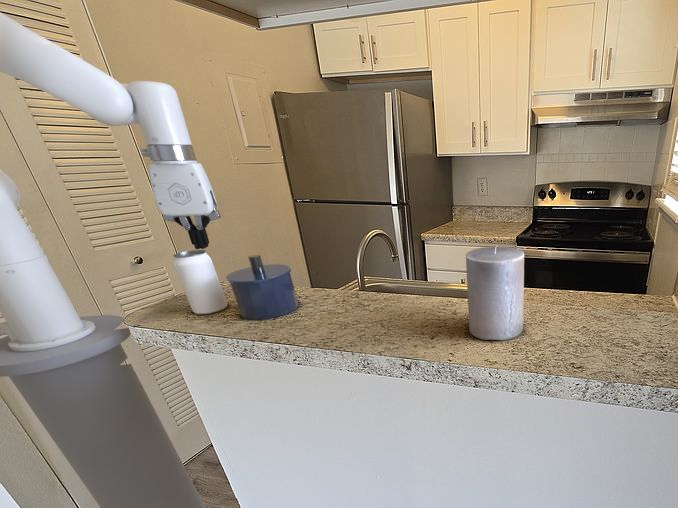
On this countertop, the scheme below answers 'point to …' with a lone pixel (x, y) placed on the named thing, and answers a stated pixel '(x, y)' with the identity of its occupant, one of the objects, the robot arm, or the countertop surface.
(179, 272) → the can
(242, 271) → the pot lid
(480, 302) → the pillar candle
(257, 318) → the pot
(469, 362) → the countertop surface
